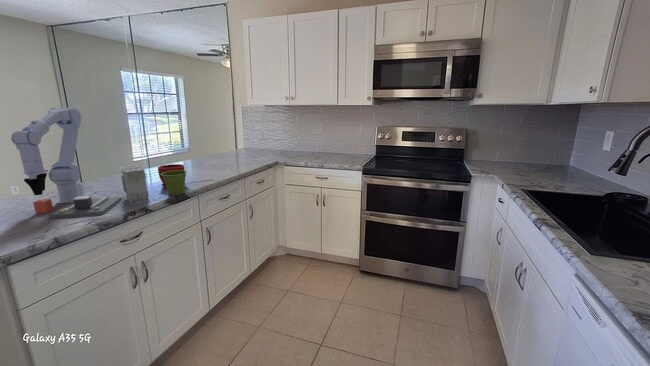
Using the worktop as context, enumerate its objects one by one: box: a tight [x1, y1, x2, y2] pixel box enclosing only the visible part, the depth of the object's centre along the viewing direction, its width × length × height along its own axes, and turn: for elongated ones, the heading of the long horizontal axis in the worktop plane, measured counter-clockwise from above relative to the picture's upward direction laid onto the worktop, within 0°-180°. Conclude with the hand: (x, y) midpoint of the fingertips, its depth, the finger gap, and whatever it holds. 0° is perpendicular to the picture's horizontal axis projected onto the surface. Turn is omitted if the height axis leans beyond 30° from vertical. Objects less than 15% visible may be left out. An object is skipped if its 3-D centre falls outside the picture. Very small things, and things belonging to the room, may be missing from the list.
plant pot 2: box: [157, 163, 186, 189], centre depth 161 cm, size 13×13×12 cm
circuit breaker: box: [120, 167, 150, 205], centre depth 138 cm, size 8×14×15 cm, turn 44°
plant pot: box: [161, 170, 188, 197], centre depth 146 cm, size 12×12×11 cm
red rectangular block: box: [32, 198, 54, 215], centre depth 121 cm, size 4×4×5 cm
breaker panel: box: [48, 196, 123, 220], centre depth 125 cm, size 20×18×3 cm
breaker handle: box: [73, 195, 93, 209], centre depth 121 cm, size 3×5×4 cm, turn 105°
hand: (40, 192), depth 119 cm, fingers open, 7 cm apart
